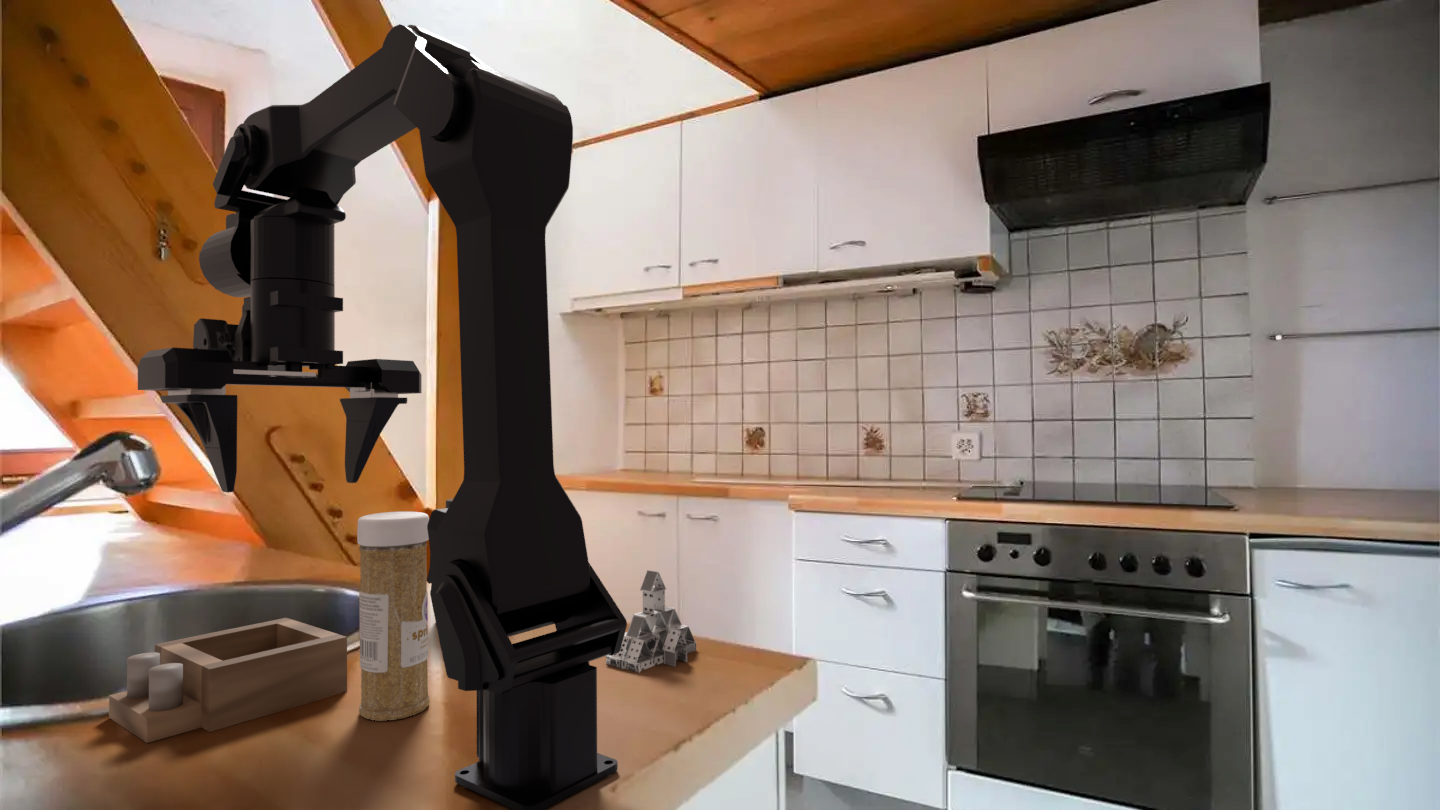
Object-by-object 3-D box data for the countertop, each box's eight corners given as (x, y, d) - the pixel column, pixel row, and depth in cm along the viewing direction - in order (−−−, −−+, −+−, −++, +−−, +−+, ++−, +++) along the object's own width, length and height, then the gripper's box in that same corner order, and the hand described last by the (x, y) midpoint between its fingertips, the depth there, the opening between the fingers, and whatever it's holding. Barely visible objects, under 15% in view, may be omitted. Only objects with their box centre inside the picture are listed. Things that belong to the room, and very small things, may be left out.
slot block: (347, 691, 57) (347, 636, 58) (154, 748, 48) (154, 682, 48) (286, 667, 63) (286, 617, 63) (102, 713, 54) (103, 654, 54)
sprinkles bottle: (437, 714, 53) (436, 514, 53) (363, 729, 51) (363, 520, 51) (421, 694, 57) (420, 508, 57) (352, 707, 54) (352, 513, 55)
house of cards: (668, 701, 56) (668, 593, 56) (587, 676, 62) (586, 578, 62) (744, 669, 63) (744, 573, 63) (665, 649, 69) (664, 561, 69)
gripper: (356, 307, 73) (356, 475, 73) (111, 280, 58) (110, 491, 58) (425, 295, 66) (425, 480, 66) (168, 261, 51) (168, 500, 51)
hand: (293, 487), depth 61 cm, fingers open, 9 cm apart
